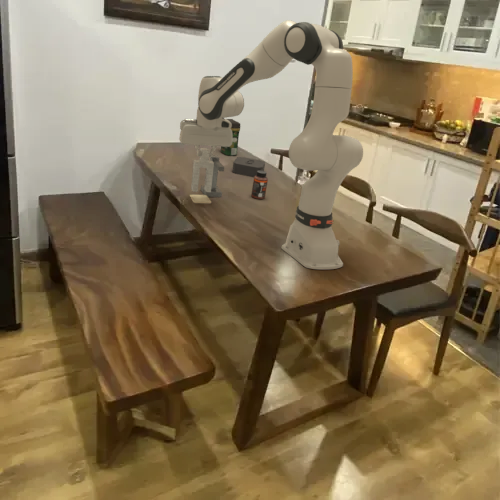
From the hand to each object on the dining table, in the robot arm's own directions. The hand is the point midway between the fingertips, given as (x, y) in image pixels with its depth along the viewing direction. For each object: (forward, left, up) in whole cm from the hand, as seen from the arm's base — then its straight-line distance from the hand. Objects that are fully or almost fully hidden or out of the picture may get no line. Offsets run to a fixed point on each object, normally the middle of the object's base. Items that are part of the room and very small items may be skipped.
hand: (204, 156), depth 189 cm
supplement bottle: (+4, -27, -18) cm, 32 cm away
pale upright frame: (0, 0, -14) cm, 14 cm away
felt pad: (0, 0, -18) cm, 18 cm away
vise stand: (+4, -6, -18) cm, 19 cm away
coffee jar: (+72, -34, -18) cm, 81 cm away
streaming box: (+40, -34, -18) cm, 56 cm away
